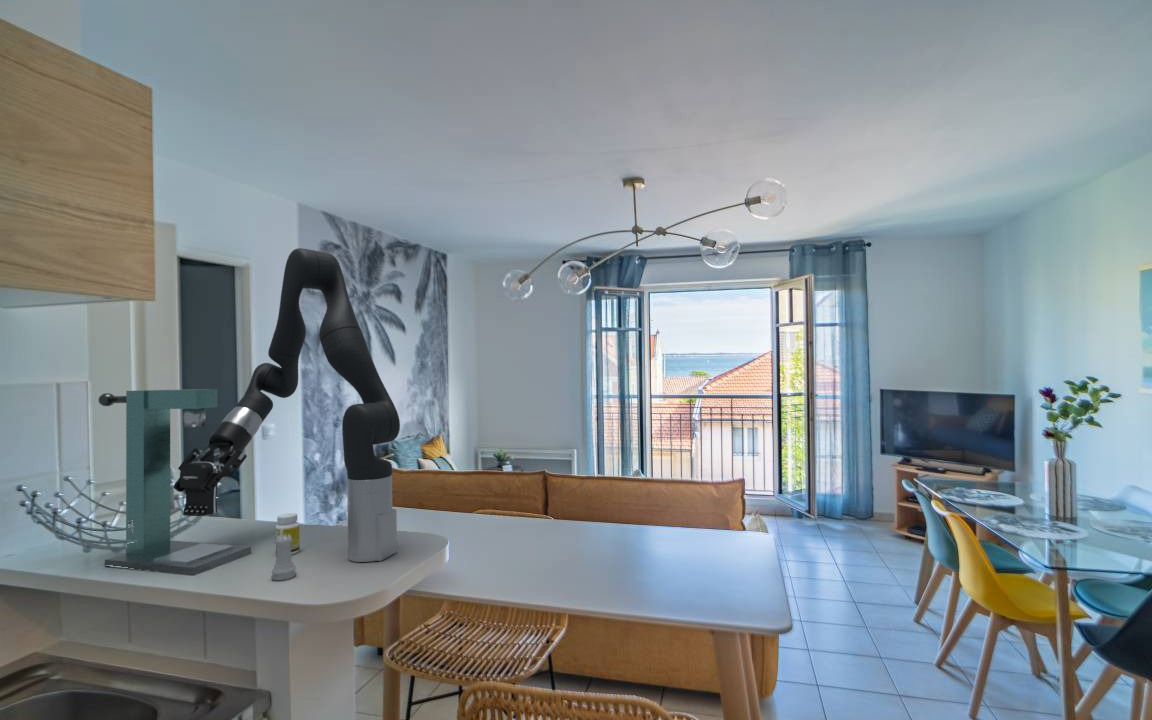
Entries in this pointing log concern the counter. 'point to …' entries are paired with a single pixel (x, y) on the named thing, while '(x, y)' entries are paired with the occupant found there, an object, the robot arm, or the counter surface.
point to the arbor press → (161, 483)
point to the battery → (198, 489)
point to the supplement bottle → (289, 530)
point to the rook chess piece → (283, 560)
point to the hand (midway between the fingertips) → (191, 490)
